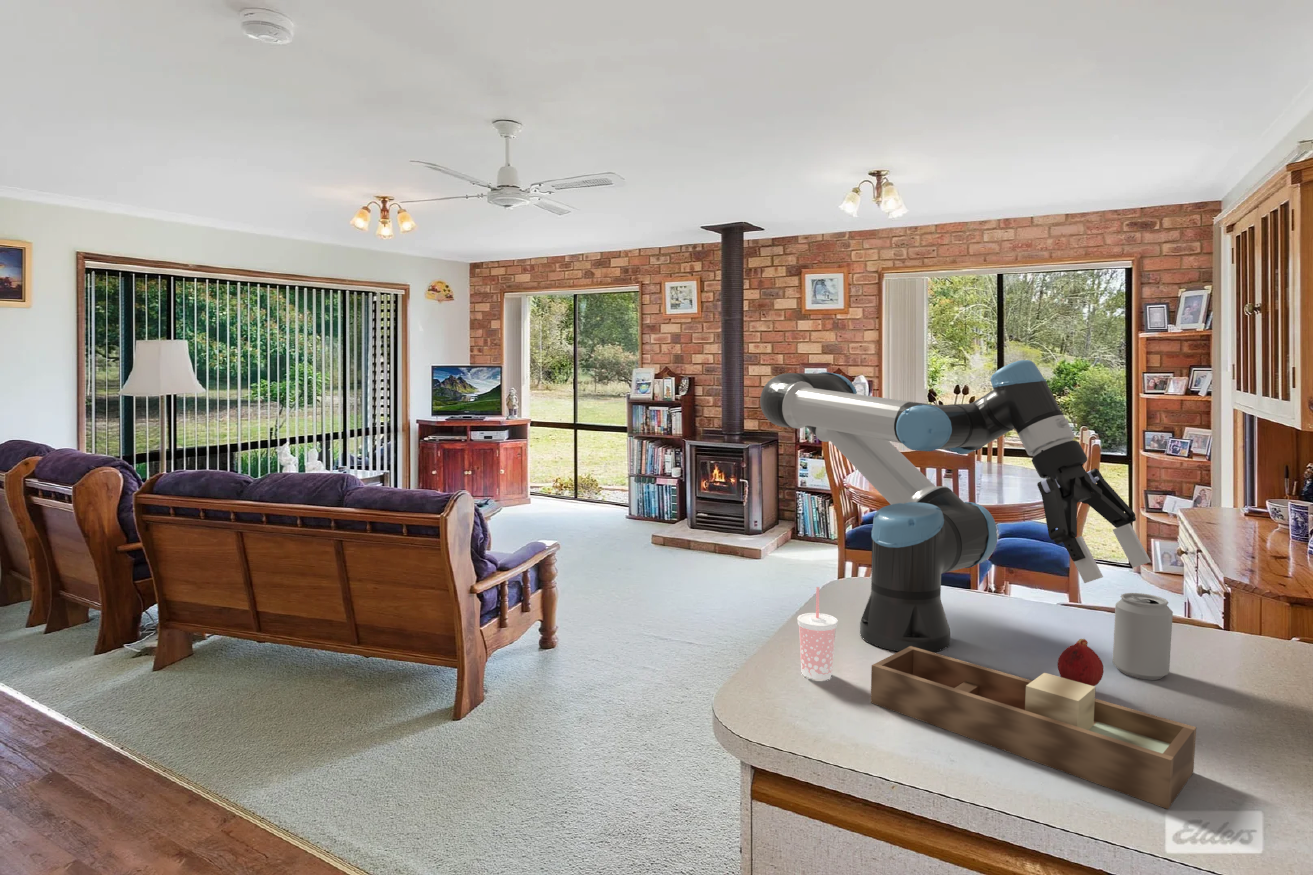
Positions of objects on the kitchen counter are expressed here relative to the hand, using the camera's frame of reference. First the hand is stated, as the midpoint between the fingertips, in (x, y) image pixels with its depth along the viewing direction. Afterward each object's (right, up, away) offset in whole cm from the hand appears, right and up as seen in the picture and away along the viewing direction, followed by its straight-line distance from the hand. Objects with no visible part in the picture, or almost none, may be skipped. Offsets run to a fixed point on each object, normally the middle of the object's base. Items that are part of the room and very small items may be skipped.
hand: (1118, 572), depth 116 cm
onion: (-9, -17, -5) cm, 20 cm away
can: (+5, -16, +2) cm, 17 cm away
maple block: (-21, -15, -22) cm, 34 cm away
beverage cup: (-46, -16, +1) cm, 49 cm away
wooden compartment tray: (-24, -18, -18) cm, 35 cm away
